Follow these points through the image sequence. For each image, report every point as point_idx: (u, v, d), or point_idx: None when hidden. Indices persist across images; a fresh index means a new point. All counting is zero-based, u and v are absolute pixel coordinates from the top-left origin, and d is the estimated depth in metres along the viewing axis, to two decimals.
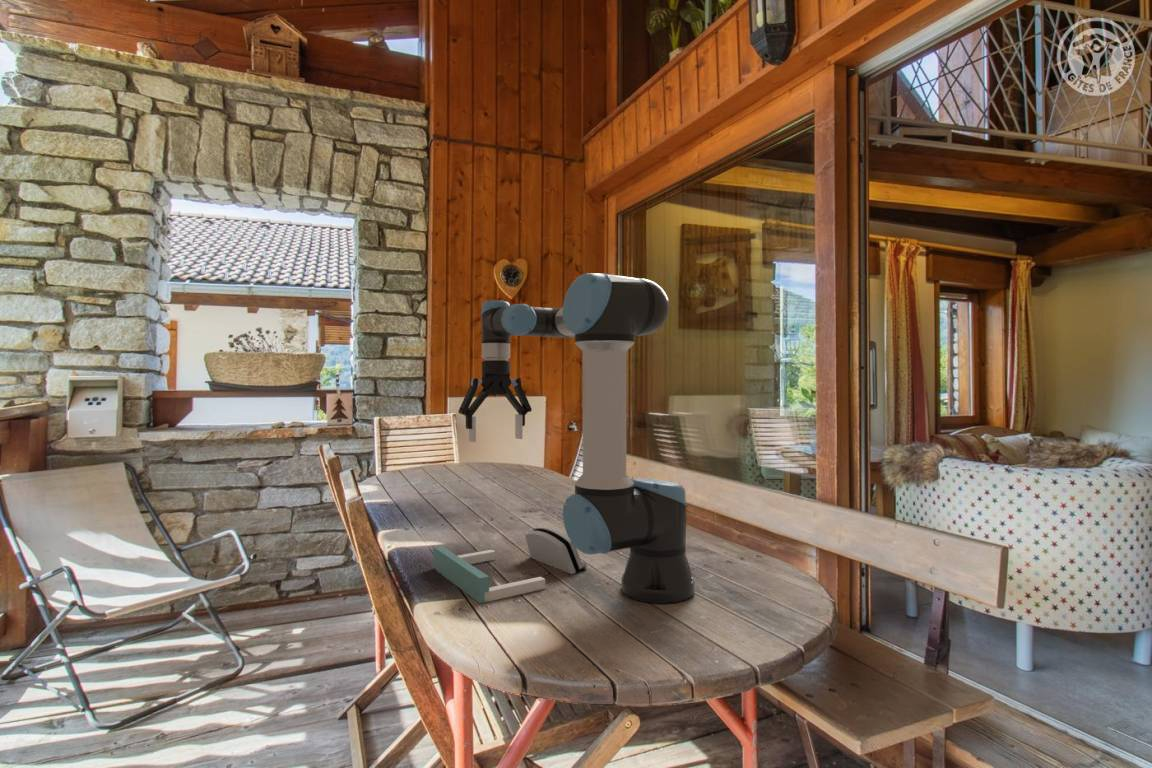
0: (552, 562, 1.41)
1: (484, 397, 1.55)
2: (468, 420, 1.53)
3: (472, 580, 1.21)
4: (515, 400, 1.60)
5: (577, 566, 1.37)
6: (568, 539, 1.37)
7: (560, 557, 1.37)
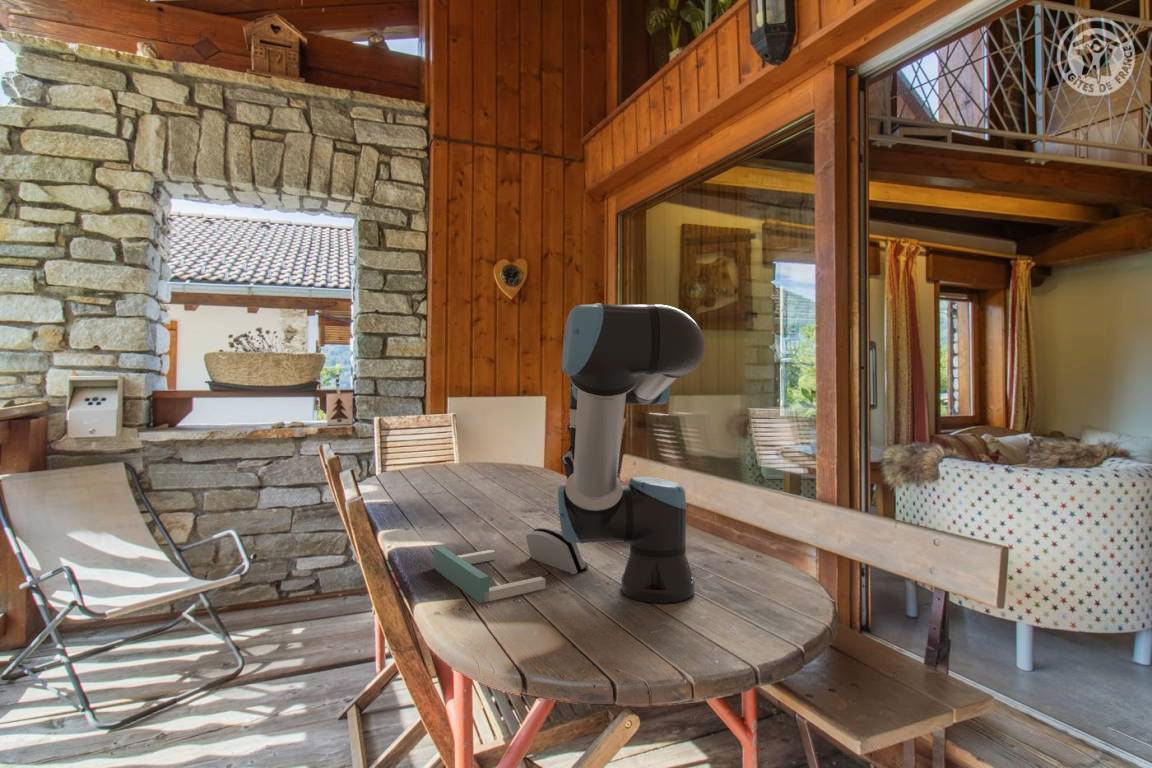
0: (553, 563, 1.40)
1: None
2: None
3: (472, 580, 1.21)
4: None
5: (579, 566, 1.37)
6: None
7: (562, 557, 1.37)
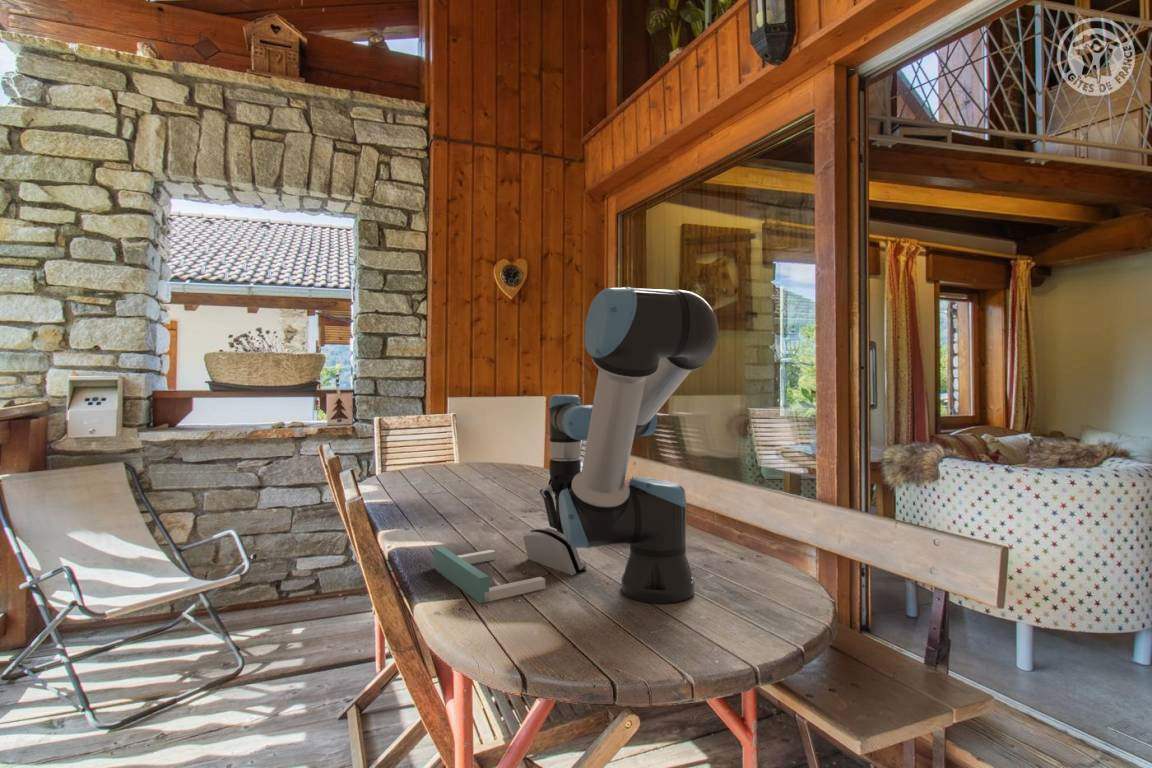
0: (551, 563, 1.40)
1: None
2: None
3: (472, 580, 1.21)
4: None
5: (577, 567, 1.36)
6: None
7: (560, 558, 1.36)
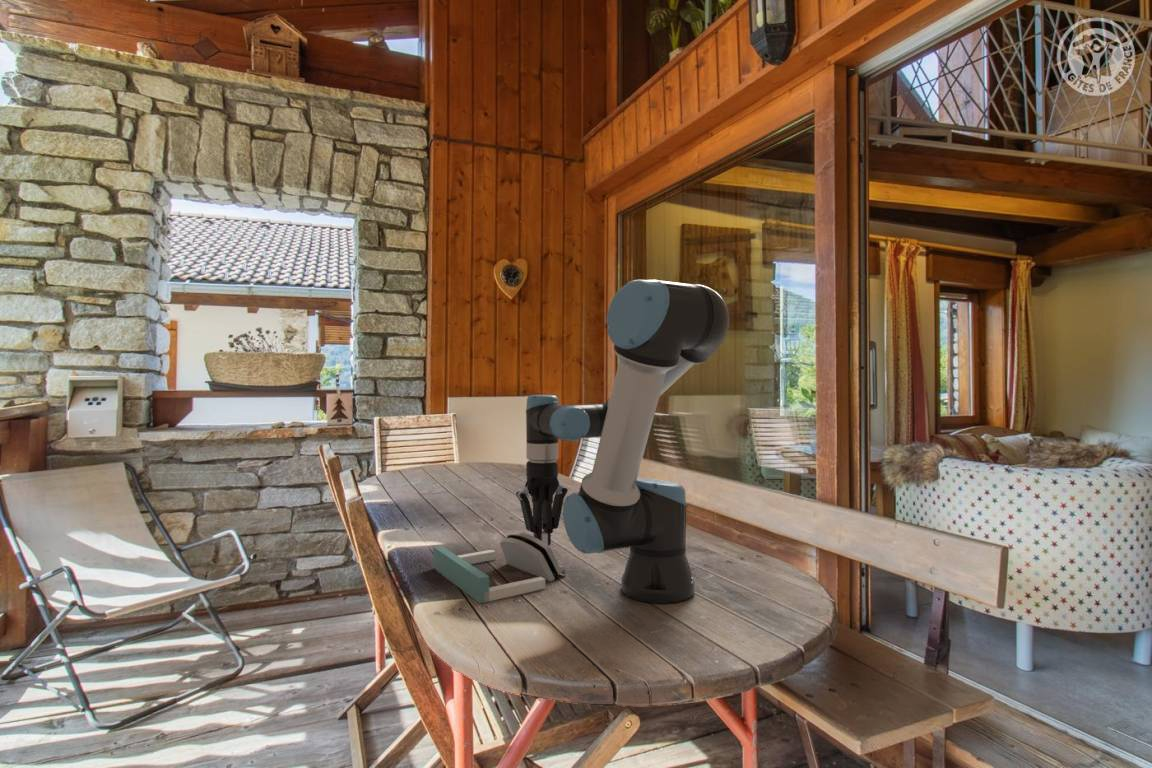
0: (530, 569, 1.36)
1: (540, 507, 1.39)
2: (537, 538, 1.40)
3: (472, 580, 1.21)
4: (549, 512, 1.41)
5: (556, 572, 1.32)
6: (544, 545, 1.32)
7: (537, 565, 1.32)
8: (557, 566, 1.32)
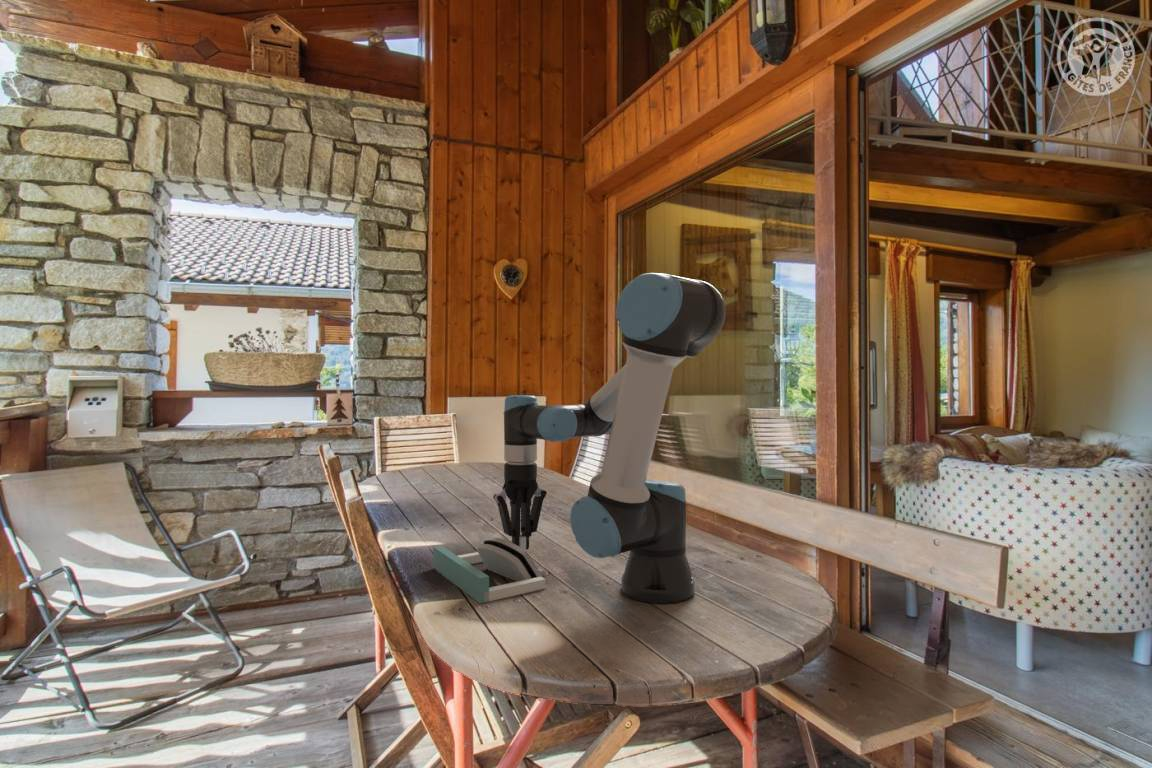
0: (509, 575, 1.32)
1: (518, 510, 1.36)
2: (515, 541, 1.37)
3: (472, 580, 1.21)
4: (528, 515, 1.38)
5: (535, 577, 1.29)
6: (521, 551, 1.28)
7: (516, 571, 1.28)
8: (536, 570, 1.29)
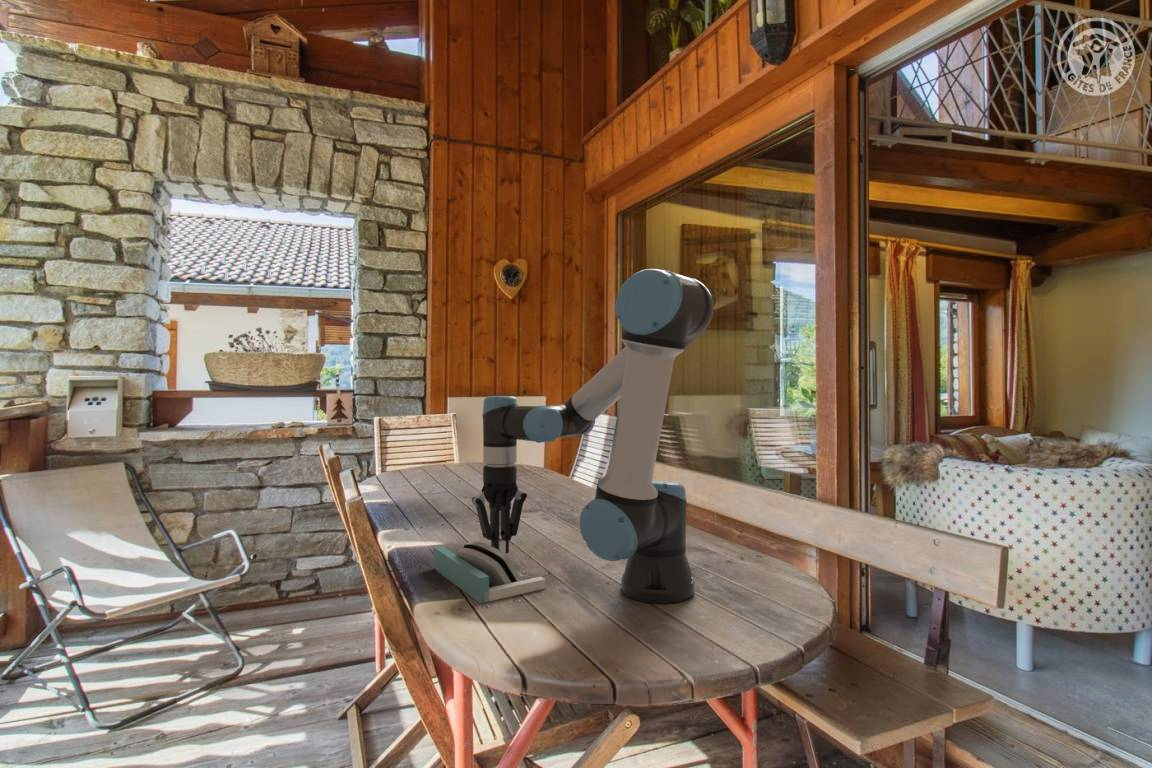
0: (489, 580, 1.29)
1: (497, 513, 1.33)
2: (494, 545, 1.34)
3: (472, 580, 1.21)
4: (507, 519, 1.35)
5: None
6: (502, 555, 1.25)
7: (496, 576, 1.25)
8: (517, 575, 1.26)
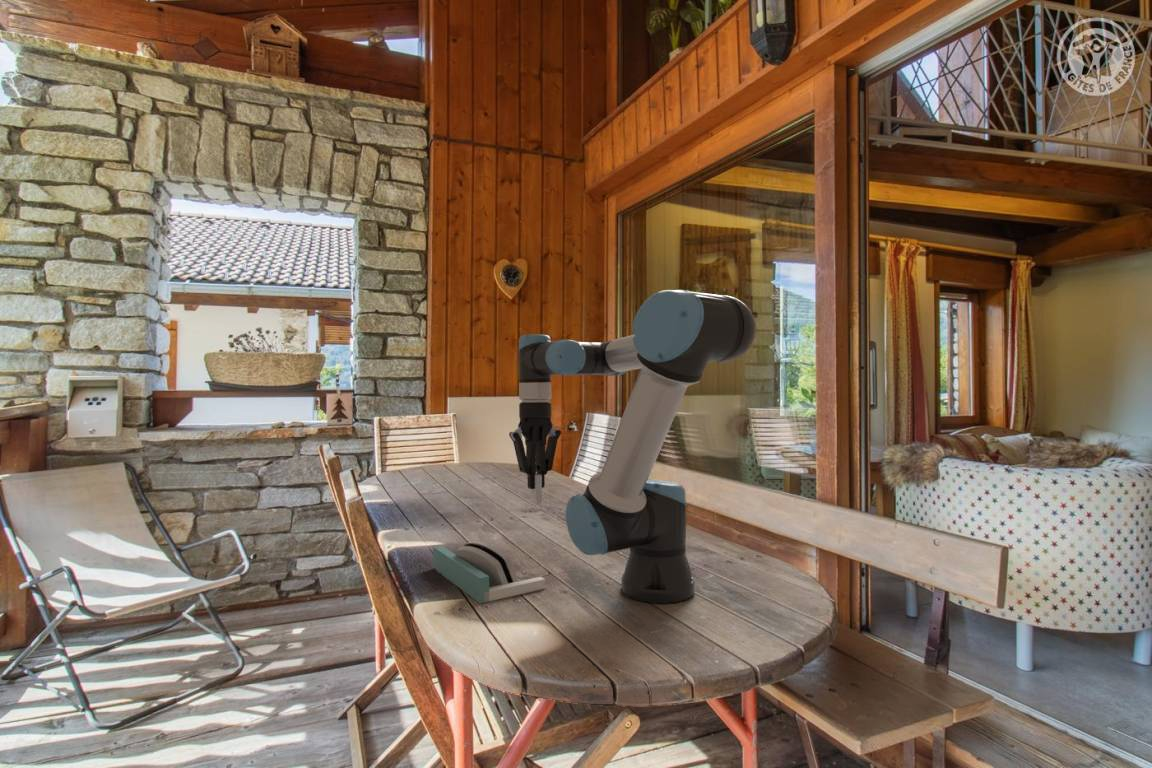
0: None
1: (534, 447, 1.38)
2: (531, 479, 1.38)
3: (472, 580, 1.21)
4: (543, 453, 1.39)
5: None
6: (503, 555, 1.25)
7: (494, 575, 1.24)
8: (515, 578, 1.25)
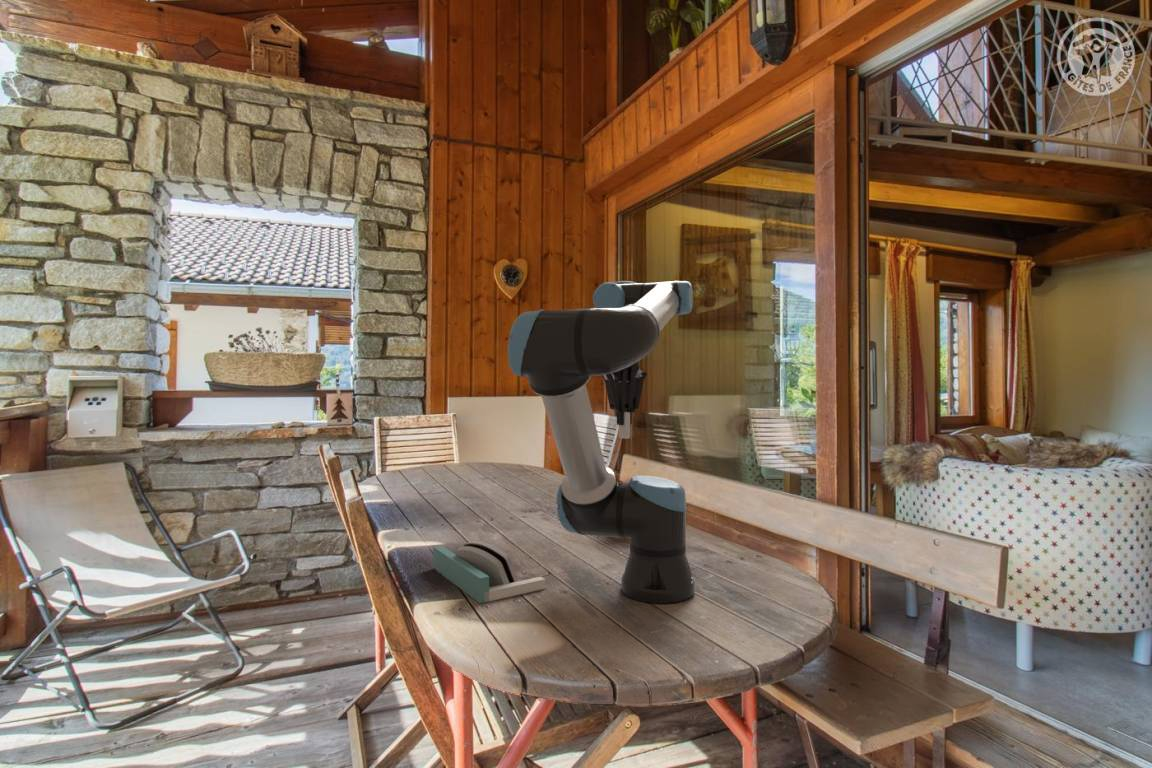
0: None
1: (623, 387, 1.49)
2: (620, 416, 1.49)
3: (472, 580, 1.21)
4: (631, 393, 1.50)
5: None
6: (504, 555, 1.25)
7: (495, 575, 1.24)
8: (516, 578, 1.25)
